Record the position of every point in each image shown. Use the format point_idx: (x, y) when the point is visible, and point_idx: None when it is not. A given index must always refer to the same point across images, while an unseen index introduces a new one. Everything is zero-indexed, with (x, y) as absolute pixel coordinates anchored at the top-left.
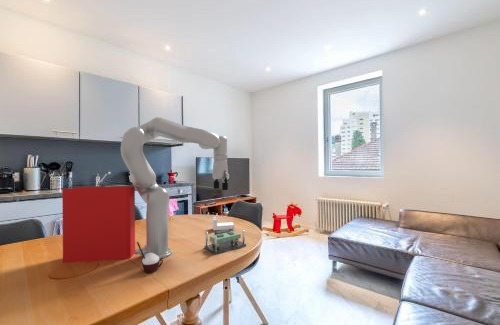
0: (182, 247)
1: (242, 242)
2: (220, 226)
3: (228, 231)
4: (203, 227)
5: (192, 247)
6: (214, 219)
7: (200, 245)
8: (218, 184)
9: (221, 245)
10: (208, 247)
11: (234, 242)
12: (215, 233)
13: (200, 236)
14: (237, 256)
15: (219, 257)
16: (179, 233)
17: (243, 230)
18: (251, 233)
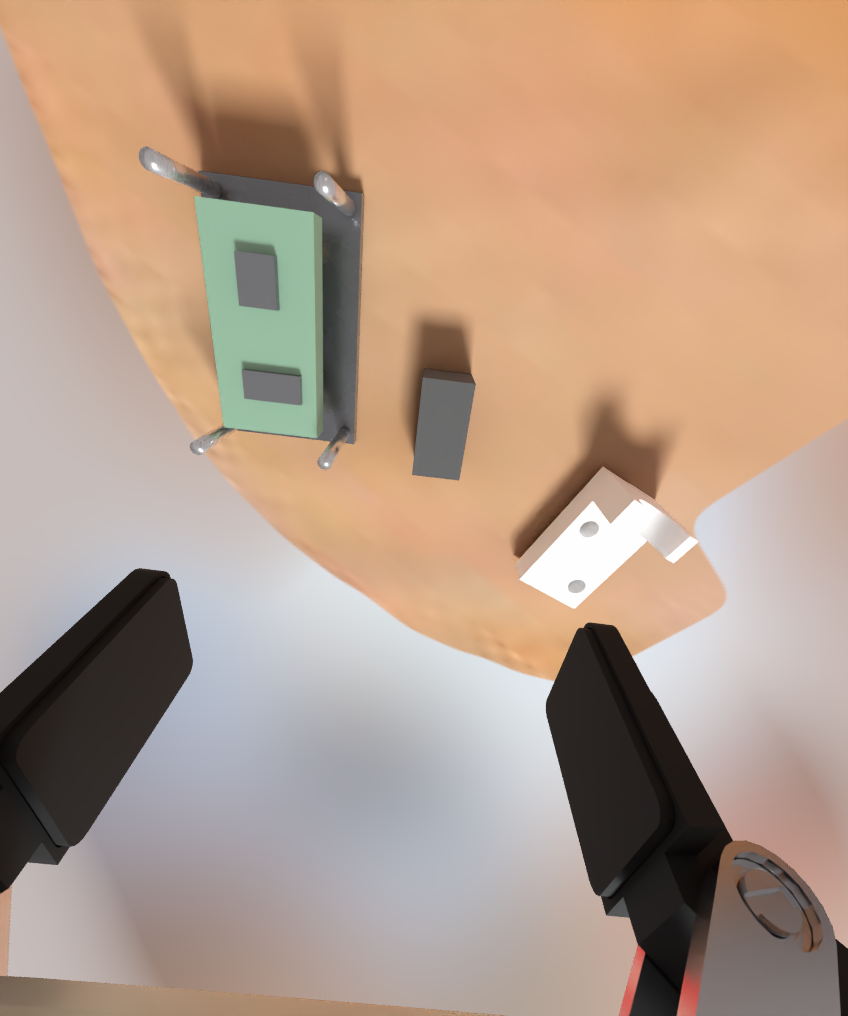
0: (496, 44)
1: (266, 433)
2: (577, 513)
3: (414, 460)
4: (734, 472)
5: (436, 123)
6: (634, 511)
7: (429, 207)
8: (575, 794)
9: None
10: (314, 198)
11: None
12: (459, 380)
13: (593, 332)
14: (112, 275)
15: None
16: (811, 244)
17: (193, 444)
18: (391, 578)
